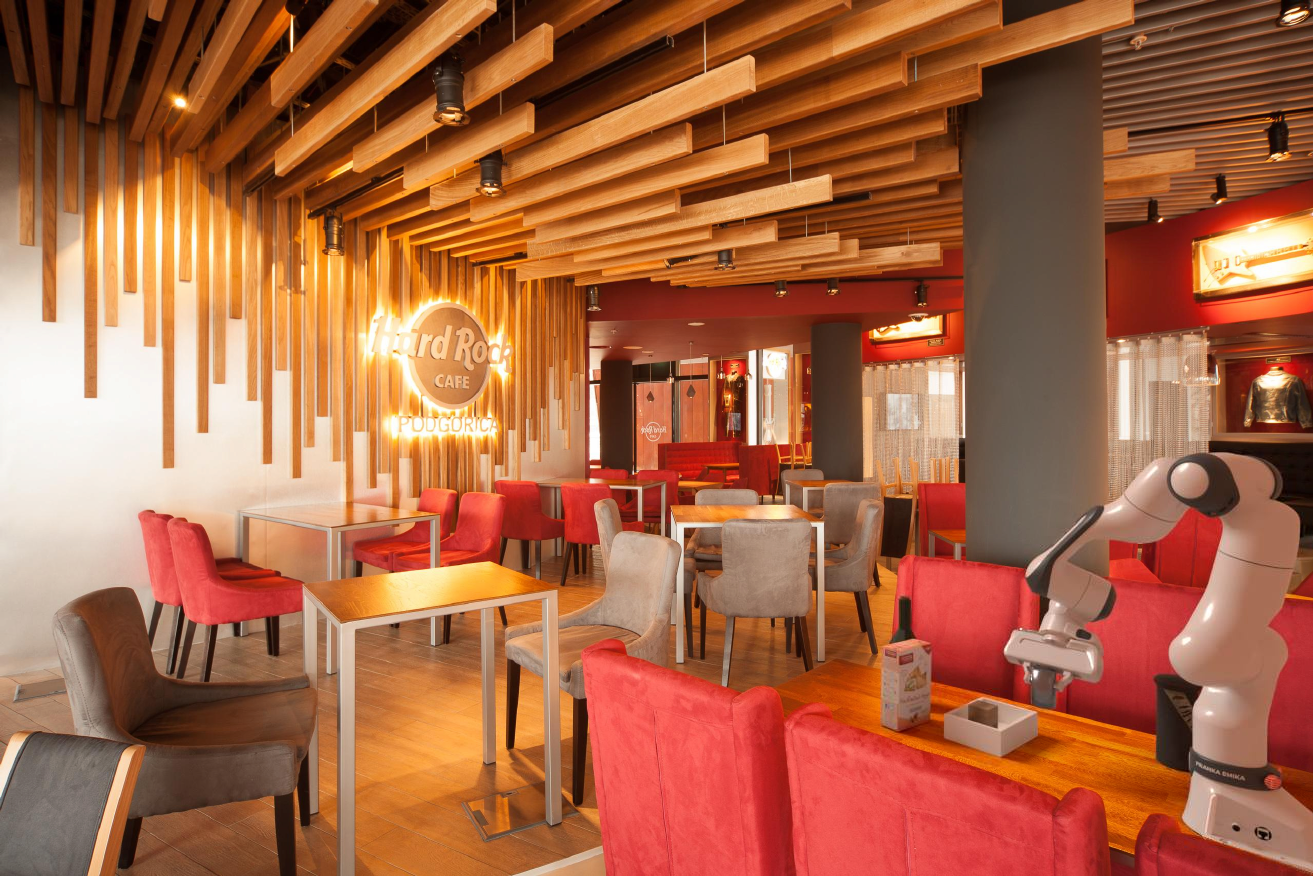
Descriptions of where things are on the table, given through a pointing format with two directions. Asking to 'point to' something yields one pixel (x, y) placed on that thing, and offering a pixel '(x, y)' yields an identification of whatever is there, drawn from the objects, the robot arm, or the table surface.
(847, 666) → the table surface
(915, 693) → the cracker box
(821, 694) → the table surface
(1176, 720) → the container
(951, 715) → the box
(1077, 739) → the table surface
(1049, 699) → the charcoal tin
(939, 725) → the table surface
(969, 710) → the walnut block
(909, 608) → the wine bottle
